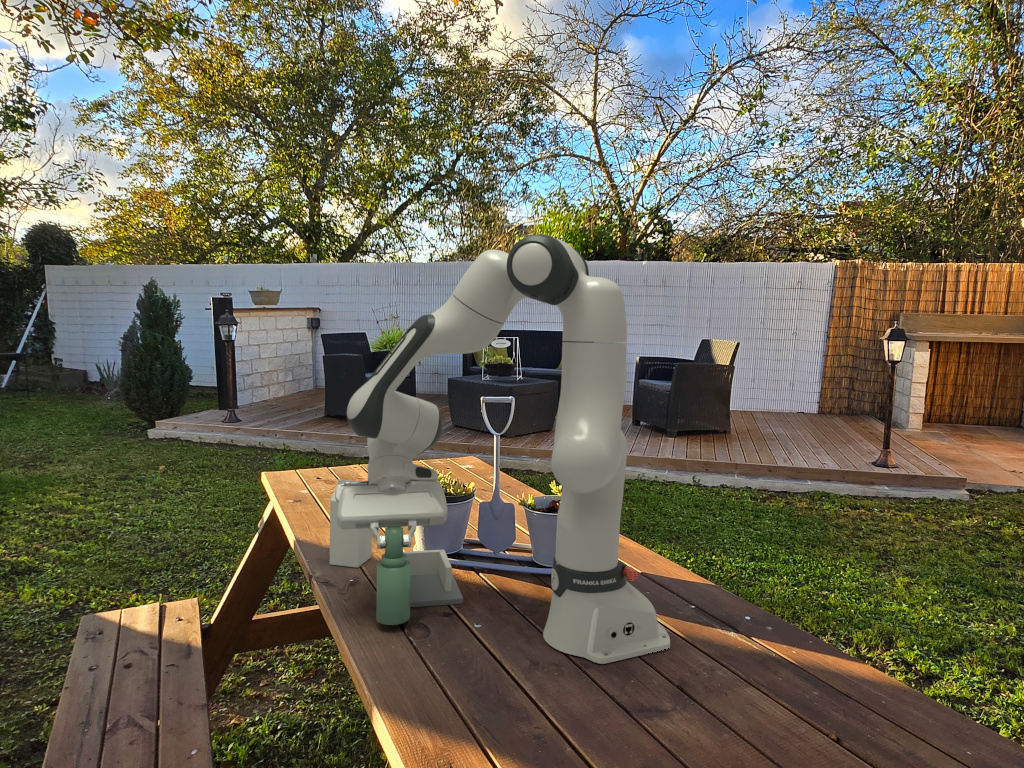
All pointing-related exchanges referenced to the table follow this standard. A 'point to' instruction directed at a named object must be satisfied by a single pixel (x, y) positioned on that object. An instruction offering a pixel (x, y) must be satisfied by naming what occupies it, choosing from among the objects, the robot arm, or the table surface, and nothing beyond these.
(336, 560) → the milk carton
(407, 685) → the table surface
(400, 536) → the bottle
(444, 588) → the bottle holder
